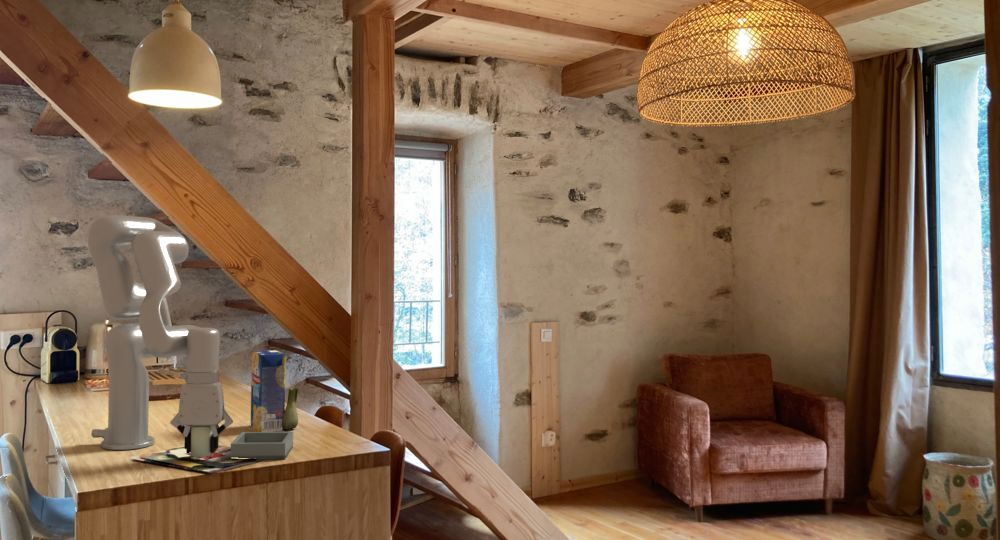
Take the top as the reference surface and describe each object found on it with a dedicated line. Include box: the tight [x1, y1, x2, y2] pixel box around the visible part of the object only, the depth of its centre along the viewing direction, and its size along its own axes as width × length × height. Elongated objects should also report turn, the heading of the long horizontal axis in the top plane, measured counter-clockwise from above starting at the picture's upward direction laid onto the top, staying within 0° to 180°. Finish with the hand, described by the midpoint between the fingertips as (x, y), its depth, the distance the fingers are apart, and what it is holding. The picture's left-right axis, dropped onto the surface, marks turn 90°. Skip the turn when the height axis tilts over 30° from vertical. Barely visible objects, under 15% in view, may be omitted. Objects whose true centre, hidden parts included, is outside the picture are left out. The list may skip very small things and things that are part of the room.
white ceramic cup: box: [189, 426, 213, 457], centre depth 192 cm, size 5×5×8 cm
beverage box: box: [250, 349, 286, 432], centre depth 227 cm, size 7×11×22 cm, turn 31°
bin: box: [230, 431, 294, 461], centre depth 198 cm, size 13×13×4 cm
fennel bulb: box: [281, 387, 300, 430], centre depth 226 cm, size 6×5×12 cm
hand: (201, 451), depth 192 cm, fingers closed on white ceramic cup, 5 cm apart
